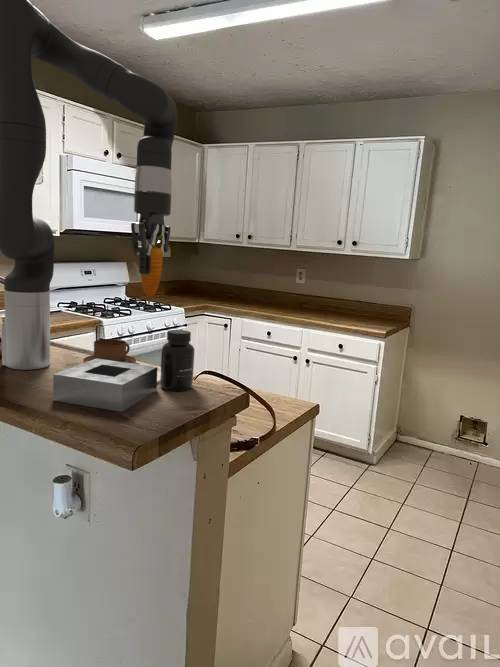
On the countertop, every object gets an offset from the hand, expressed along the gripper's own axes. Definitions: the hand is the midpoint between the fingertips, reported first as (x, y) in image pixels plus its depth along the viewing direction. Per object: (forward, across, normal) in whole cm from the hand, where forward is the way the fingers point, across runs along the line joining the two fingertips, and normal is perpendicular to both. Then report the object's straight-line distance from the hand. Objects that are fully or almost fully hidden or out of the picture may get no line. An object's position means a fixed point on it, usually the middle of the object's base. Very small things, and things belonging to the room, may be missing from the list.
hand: (150, 272), depth 104 cm
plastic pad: (+23, 0, 0) cm, 23 cm away
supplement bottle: (+23, +4, +9) cm, 25 cm away
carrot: (+6, 0, 0) cm, 6 cm away
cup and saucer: (+24, -4, -12) cm, 27 cm away
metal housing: (+23, +15, -1) cm, 28 cm away
